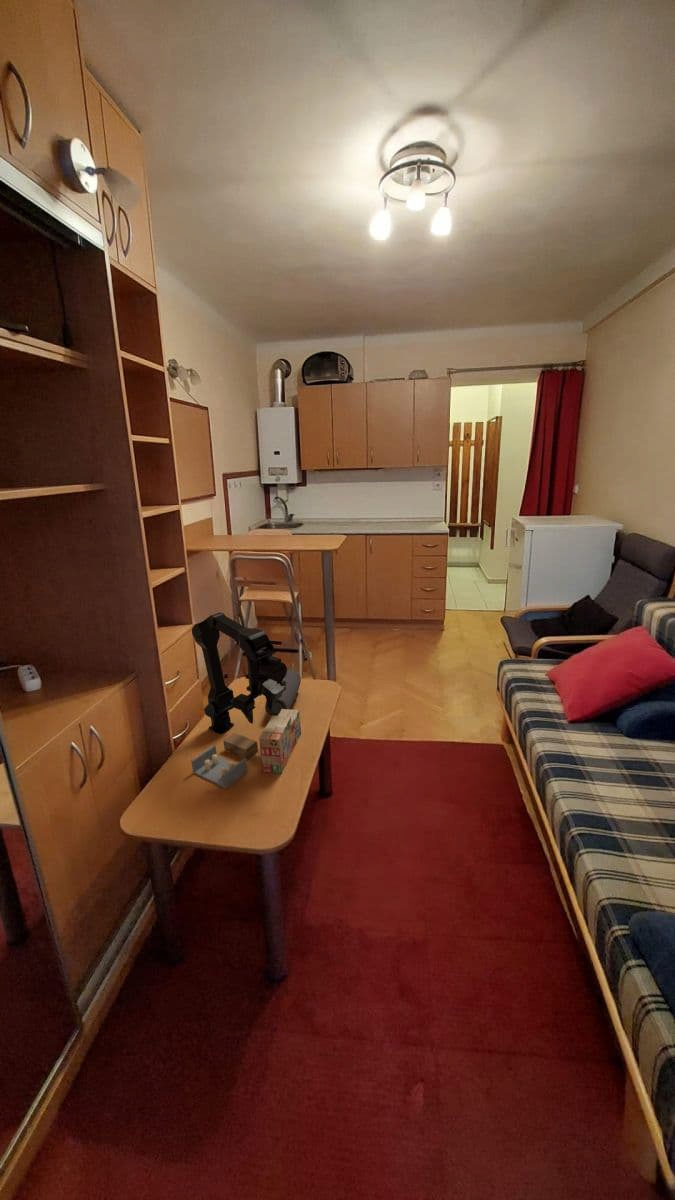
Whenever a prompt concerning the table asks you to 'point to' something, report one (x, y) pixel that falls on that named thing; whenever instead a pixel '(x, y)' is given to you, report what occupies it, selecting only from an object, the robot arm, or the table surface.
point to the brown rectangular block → (240, 746)
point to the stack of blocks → (279, 740)
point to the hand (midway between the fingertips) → (261, 715)
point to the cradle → (218, 768)
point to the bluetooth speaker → (286, 694)
